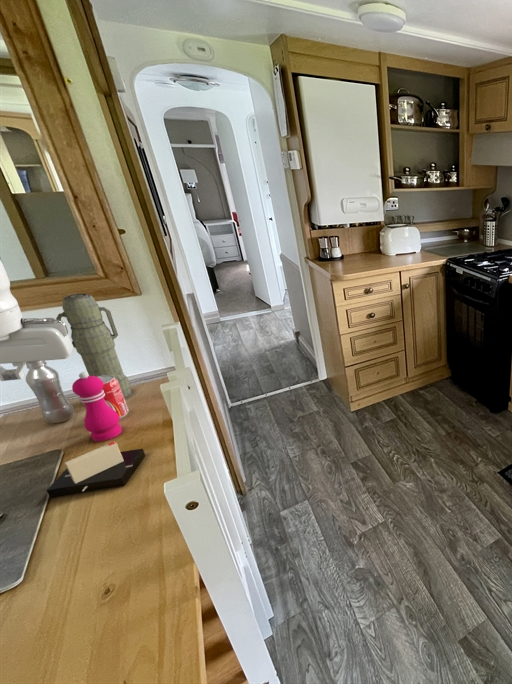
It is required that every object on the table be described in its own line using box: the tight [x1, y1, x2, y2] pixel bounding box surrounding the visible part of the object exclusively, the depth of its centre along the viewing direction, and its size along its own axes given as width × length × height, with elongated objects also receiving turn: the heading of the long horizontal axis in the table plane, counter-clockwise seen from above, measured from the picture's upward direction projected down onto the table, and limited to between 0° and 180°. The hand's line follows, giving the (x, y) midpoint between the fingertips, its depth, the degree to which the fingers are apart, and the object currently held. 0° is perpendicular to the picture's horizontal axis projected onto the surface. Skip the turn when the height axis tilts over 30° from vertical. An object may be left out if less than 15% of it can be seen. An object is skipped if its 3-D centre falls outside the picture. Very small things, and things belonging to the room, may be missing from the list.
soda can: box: [98, 375, 130, 420], centre depth 112 cm, size 7×7×13 cm
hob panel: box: [46, 448, 146, 499], centre depth 91 cm, size 15×14×3 cm
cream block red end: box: [64, 440, 124, 484], centre depth 89 cm, size 9×1×6 cm, turn 149°
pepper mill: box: [71, 371, 123, 442], centre depth 103 cm, size 7×7×20 cm
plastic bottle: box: [25, 360, 75, 424], centre depth 109 cm, size 6×7×20 cm
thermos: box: [55, 293, 133, 400], centre depth 119 cm, size 9×12×35 cm
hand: (13, 378), depth 79 cm, fingers closed
